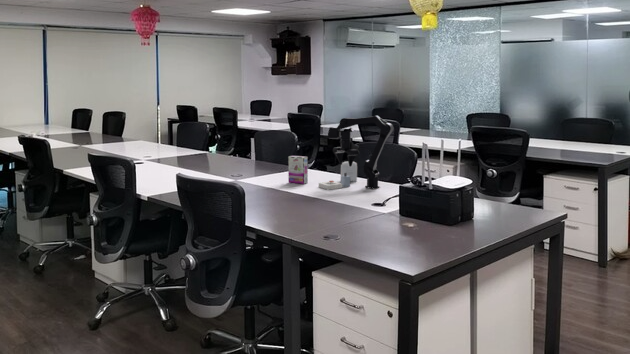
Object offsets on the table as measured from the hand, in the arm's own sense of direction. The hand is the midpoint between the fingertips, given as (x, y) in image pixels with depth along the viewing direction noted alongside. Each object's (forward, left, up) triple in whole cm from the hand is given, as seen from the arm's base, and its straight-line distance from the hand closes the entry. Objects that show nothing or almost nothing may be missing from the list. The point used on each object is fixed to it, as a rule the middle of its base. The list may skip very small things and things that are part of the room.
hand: (345, 165), depth 348 cm
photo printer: (+10, -10, -12) cm, 19 cm away
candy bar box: (+21, +20, -12) cm, 32 cm away
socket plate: (-1, +11, -12) cm, 16 cm away
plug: (-2, +1, -12) cm, 12 cm away
